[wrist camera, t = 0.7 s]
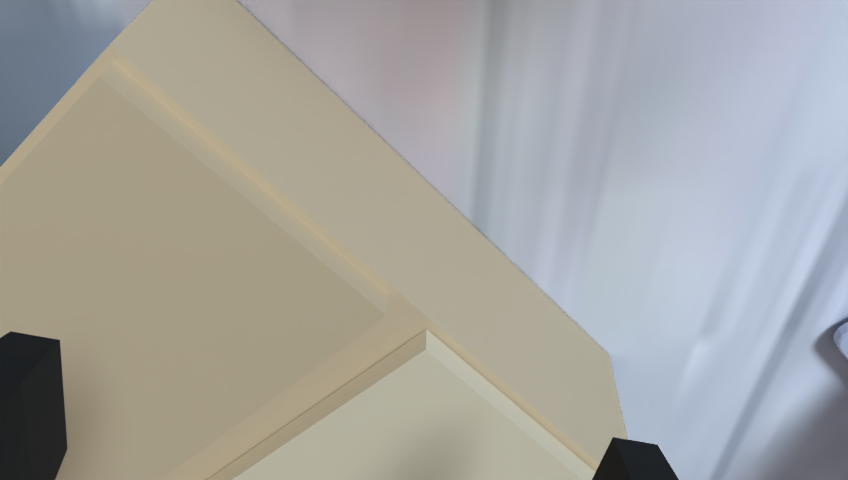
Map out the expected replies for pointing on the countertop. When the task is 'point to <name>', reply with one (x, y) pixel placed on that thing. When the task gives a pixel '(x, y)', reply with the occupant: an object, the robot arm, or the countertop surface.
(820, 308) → the countertop surface
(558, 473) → the carton flap
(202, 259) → the carton
